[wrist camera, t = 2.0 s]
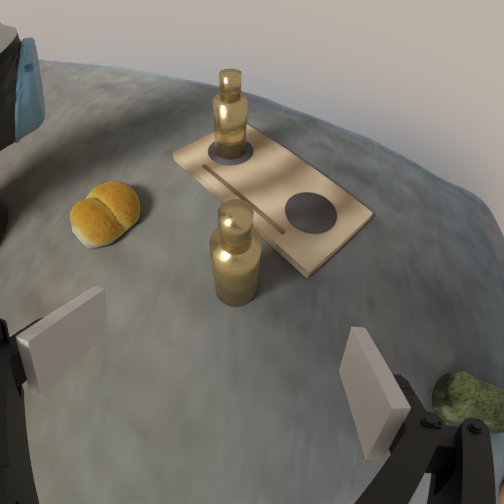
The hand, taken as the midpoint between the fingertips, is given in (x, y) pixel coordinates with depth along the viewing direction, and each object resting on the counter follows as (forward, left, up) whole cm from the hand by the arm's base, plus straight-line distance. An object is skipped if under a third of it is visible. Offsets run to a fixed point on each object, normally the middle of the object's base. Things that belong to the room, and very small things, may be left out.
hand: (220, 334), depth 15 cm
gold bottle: (-21, +18, -11) cm, 30 cm away
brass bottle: (-6, +6, -13) cm, 15 cm away
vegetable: (+22, +15, -13) cm, 29 cm away
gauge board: (-14, +18, -12) cm, 26 cm away
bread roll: (-23, 0, -13) cm, 26 cm away
